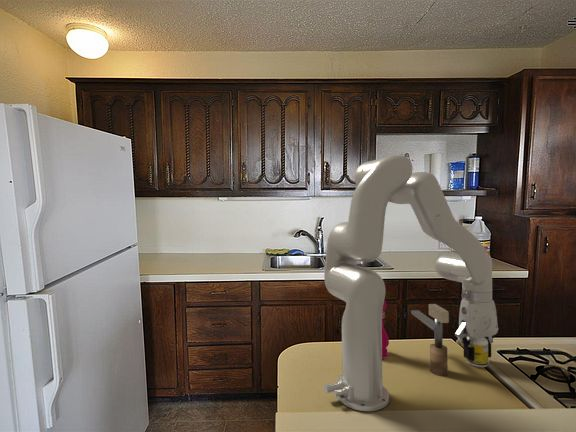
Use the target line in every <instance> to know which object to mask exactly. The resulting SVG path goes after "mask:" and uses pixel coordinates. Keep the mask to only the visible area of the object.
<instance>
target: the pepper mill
mask: <svg viewBox="0 0 576 432" xmlns="http://www.w3.org/2000/svg"><path fill="white" fill-rule="evenodd" d="M385 310H387V302H386V300H385V299H384V304H383V310H382V360H383V359H385V358H387V357H388V346H389V344H390V340H389V339H390V338H389V336H388V334H387V331H386V328H385V327H384V326H385V325H384V319H385V317H386V313H385Z"/></svg>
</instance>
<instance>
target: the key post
mask: <svg viewBox="0 0 576 432" xmlns="http://www.w3.org/2000/svg"><path fill="white" fill-rule="evenodd" d="M448 363H449V362H448V347H447V346H446V345H444V344H443V347H436V346H435V343H430V345H429V367H430V368H429V370H430V373H431V374H434V375H435V376H439V377H445V376H447V375H448V373H449V371H448V369H449V368H448V366H449V365H448Z"/></svg>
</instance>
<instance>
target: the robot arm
mask: <svg viewBox="0 0 576 432" xmlns="http://www.w3.org/2000/svg"><path fill="white" fill-rule="evenodd" d="M413 171H414V170H413V163H412V161H411V160H410V159H409V158H408V157H407V156H405V155H401V154H400V155H398V154H396V155H390V156H389V155H388V156H385V157H382V158H381V157H380V158H378V159H374V160H370V161H366V162H364V163H362V164H360V165H359V166H358V167H357V169H356V170H355V172H354V183H355V185H356V187H355V189H354V192H353V194H352V197H351V201H350V208H349V215H348V221H345V222H341V223H338V224H336V225H334V226H333V228H332V229H331V231H330V232H329V234H328V238H327V240H326V241H327V243H326V252H325V264H324V278H323V279H324V284H325V287H326V289H327V290H326V291H328V293H329V294H331V295H332V296H334V297H335V298H337V299H339V300H341V301H343V302H345V303H346V304H345V309H344V311H343V315H342V317H341V358H342V359H341V360H342V374H341V375H338V380H336V381H335V382H332V383H331V382H330V383H325V384H324V385H323V390H324V391H325V393H326V394H330V393H333V396H334V397H335V398H338V401H340V402H341V403H342V404H343V405H344V406H346V407H348V408H349V409H352V410H354V411H355V410H356V411H360V412H375V411H380V410H381V409H384V408H385V407H387V405H388V404H389V403H390V391H388V389H387V388H386V387H385V386H384V385H383V359H382V310H383V304H384V300H385V297H386V285H385V281H384V279H383V278H382V277H381V276H380V274H378V272H376V271H374V270H372V269H370V268H367V267H363V266H360V265H358V264H357V263H358V262H364V263H371V262H374V261H377V260H378V258H379V257H380V256H381V254H382V250H383V244H384V231H385V220H386V211H387V206H388V204H389V203H393V204H396V205H410V207H411V208H412V210H413V212H414V215H415V217H416V220H418V221H417V222H418V224H419V225H420V228H421V230H422V232H423V233H424V234H425V235H427V236H429V237H431V238H432V239H434V240H436V241H437V242H439V243H442V244H444V245H445V246H447V247H449V248H450V249H452V250H453V251H454V252H455V253H444V254H442V255H440V256H438V258H437V259H436V261H435V263H434V269H435V271H436V273H437V275H439V277H441V278H443V279H446V280H450V281H454V282H456V283H457V282H458V283H461V284H462V285H461V287H462V289H461V292H462V293H461V295H460V296H461V301H460V306H459V314H458V329H457V330H456V332H455V333H454V336H455V337H457V339H458V340H459V341H460V342H461V344H462V345H463V358H465V359H466V360H467V359H469V360H471V361H474V347H472V346H473V342H474V339H476V338H482V337H484V338H486V339H487V340H488V358H492V345H493V343H494V340H493V339H494V338H495V337H496V334H498V331H499V327H498V316H497V308H496V303H495V300H493V259H492V257H491V255H489V254H487V251H486V250H485V247H484V246H483V243H482V242H481V241H480V240H479V239H478V238H477V237H476V236H475V235H474V234H473V233H472V232H471V231H469V229H467V228H466V227H465V226H463V225H462V224H461V223H460V222H459V221H457V219H455V217H454V215H453V212H452V211H451V208H450V206H449V203H448V202H447V199H446V197H445V195H444V192H443V190H442V188H441V185H440V184H439V183H440V182H439V181H438V179H437V177H436V176H435V175H434V174H433V173H431V172H428V171H418V172H413ZM467 337H470V338H469V341H468V340H467Z"/></svg>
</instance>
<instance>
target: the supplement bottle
mask: <svg viewBox="0 0 576 432" xmlns="http://www.w3.org/2000/svg"><path fill="white" fill-rule="evenodd" d="M469 338H470V337H467V340H468V341H469ZM472 347H474V361H471V360H469V359H467V358H466V361H467V363H468V364H469V365H470V366H474V367H476V368H487V367H488V366H489V357H488V340H487V339H486V338H484V337H482V338H476V339H474V342H473V346H472Z"/></svg>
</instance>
